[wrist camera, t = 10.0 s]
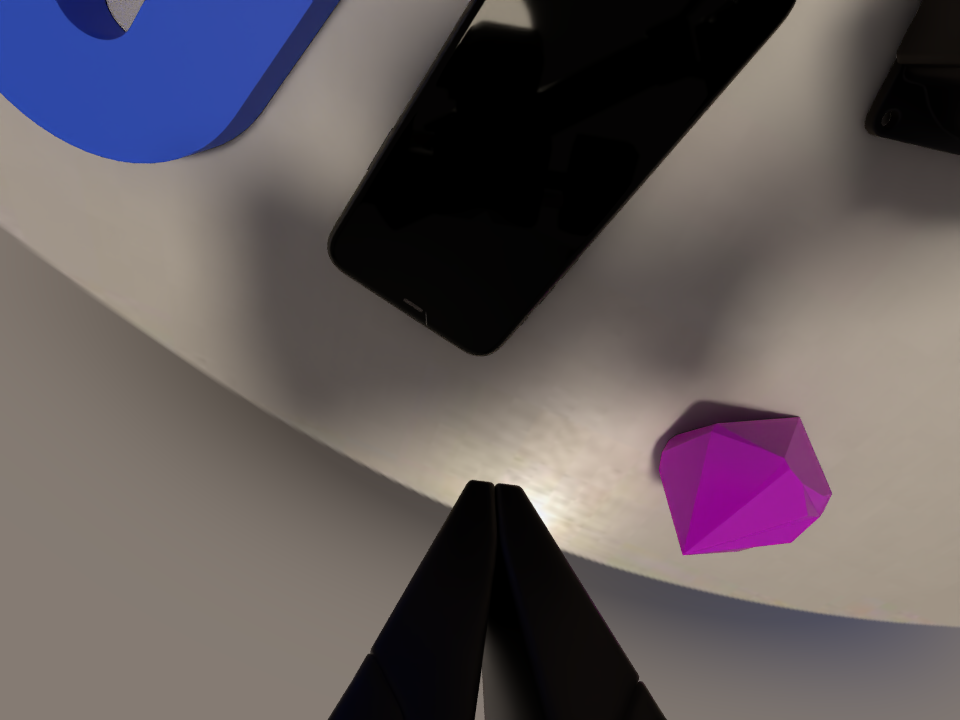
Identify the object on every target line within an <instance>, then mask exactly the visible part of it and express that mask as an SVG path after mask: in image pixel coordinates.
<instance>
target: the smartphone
mask: <svg viewBox="0 0 960 720" xmlns="http://www.w3.org/2000/svg"><path fill="white" fill-rule="evenodd" d="M795 2H796V0H471V1H470V2H469V4H468V6H467V7H466V9H465V11H464V12H463V14H462V16H461V17H460V19H459V21H458V22H457V24H456V25H455V27H454V29H453V30H452V32H451V34H450V35H449V37H448V39H447V40H446V42H445V44H444V45H443V47H442V49H441V50H440V52H439V54H438V55H437V57H436V59H435V60H434V62H433V64H432V65H431V67H430V68H429V70H428V72H427V73H426V75H425V77H424V78H423V80H422V82H421V83H420V85H419V87H418V88H417V90H416V92H415V93H414V95H413V97H412V98H411V100H410V102H409V103H408V105H407V106H406V108H405V110H404V111H403V113H402V115H401V116H400V118H399V120H398V121H397V123H396V125H395V126H394V128H392V129H391V131H390V132H389V134H388V136H387V137H386V139H385V141H384V142H383V144H382V146H381V147H380V149H379V151H378V152H377V154H376V156H375V157H374V159H373V161H372V162H371V164H370V166H369V167H368V169H367V170H368V171H367V173H366V174H365V176H364V178H363V179H362V181H361V182H360V184H359V186H358V187H357V189H356V191H355V192H354V194H353V196H352V197H351V199H350V201H349V202H348V204H347V206H346V207H345V209H344V211H343V212H342V214H341V216H340V217H339V219H338V220H337V222H336V224H335V225H334V227H333V229H332V231H331V233H330V236H329V239H328V244H327V249H328V254H329V257H330V259H331V261H332V262H333V264H334V265H335V266H336V267H337V268H338V269H339V270H340V271H341V272H343V273H344V274H346V275H347V276H349V277H350V278H352V279H353V280H355V281H356V282H358V283H359V284H361V285H362V286H364V287H365V288H367V289H368V290H370V291H371V292H373V293H374V294H376V295H378V296H379V297H381V298H382V299H384V300H385V301H387V302H388V303H390V304H391V305H393V306H394V307H396V308H397V309H399V310H401V311H402V312H404V313H405V314H407V315H408V316H410V317H411V318H413V319H414V320H416V321H417V322H419V323H421V324H422V325H424V326H425V327H427V328H428V329H430V330H431V331H433V332H434V333H436V334H437V335H439V336H441V337H442V338H444V339H445V340H447V341H448V342H450V343H451V344H453V345H455V346H456V347H458V348H459V349H461V350H462V351H464V352H466V353H468V354H471V355H474V356H487V355H490V354H492V353H494V352H496V351H497V350H498V349H499V348H501V347H502V346H503V345H504V344H505V342H506V341H507V340H508V339H509V338H510V337H511V336H512V334H513V333H514V332H515V331H516V330H517V329H518V327H519V326H521V325H522V324H523V323H524V321H525V320H526V319H527V318H528V316H529V315H530V314H531V312H532V311H533V310H534V309H535V308H536V307H537V306H538V305H539V304H540V303H541V302H542V301H543V300H544V299H545V297H546V296H547V295H548V294H549V293H550V292H551V291H552V289H553V288H554V287H555V285H556V284H557V283H558V281H559V280H560V279H562V278H563V277H564V276H565V274H566V273H567V272H568V271H569V270H570V269H571V268H572V266H573V265H574V264H575V263H576V262H577V261H578V259H579V257H580V256H581V255H582V254H583V253H584V251H585V250H586V249H587V248H588V247H589V246H590V244H591V243H592V242H593V241H594V240H595V239H596V238H597V236H598V235H599V234H600V233H601V232H602V231H603V229H604V228H605V227H606V226H607V225H608V224H609V223H610V221H611V220H612V219H613V218H614V217H615V216H616V215H617V213H618V212H619V211H620V210H621V209H622V208H623V206H624V205H625V204H626V203H627V202H628V201H629V200H630V198H631V197H632V196H633V195H634V194H635V193H636V191H637V190H638V189H639V188H640V187H641V186H642V185H643V183H644V182H645V181H646V180H647V179H648V178H649V176H650V175H651V174H652V173H653V172H654V171H655V170H656V168H657V167H658V166H659V165H660V164H661V163H662V161H663V160H664V159H665V158H666V157H667V156H668V155H669V153H670V152H671V151H672V150H673V149H674V148H675V147H676V145H677V144H678V143H679V142H680V141H681V140H682V138H683V137H684V136H685V135H686V134H687V133H688V132H689V130H690V129H691V128H692V127H693V126H694V125H695V123H696V122H697V121H698V120H699V119H700V118H701V117H702V115H703V114H704V113H705V112H706V111H707V110H708V108H709V107H710V106H711V105H712V104H713V103H714V102H715V100H716V99H717V98H718V97H719V96H720V95H721V93H722V92H723V91H724V90H725V89H726V88H727V87H728V85H729V84H730V83H731V82H732V81H733V80H734V79H735V77H736V76H737V75H738V74H739V73H740V72H741V70H742V69H743V68H744V67H745V66H746V65H747V64H748V62H749V61H750V60H751V59H752V58H753V57H754V55H755V54H756V53H757V52H758V51H759V50H760V49H761V47H762V46H763V45H764V44H765V43H766V42H767V40H768V39H769V38H770V37H771V36H772V35H773V34H774V32H775V31H776V30H777V29H778V28H779V27H780V25H781V24H782V23H783V22H784V20H785V19H786V18H787V16H788V15H789V13H790V12H791V10H792V8H793V6H794V4H795Z"/></svg>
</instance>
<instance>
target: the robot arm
mask: <svg viewBox="0 0 960 720" xmlns="http://www.w3.org/2000/svg"><path fill="white" fill-rule="evenodd" d="M889 111H890V113H891V117H890V120H889V121H888V123H887V124H886V125H884V126H882V124H881V122H882V118H883V117H884V115H885V114H886V113H887V112H889ZM865 129H866V130H867V132H868V133H869V134H871V135H874V136H878V137H882V138H887V139H891V140H895V141H900V142H904V143H909V144H913V145H917V146H922V147H926V148H930V149H935V150H939V151H944V152H948V153H952V154H957V155H960V0H923V1H922V3H921V5H920V7H919V9H918V11H917V13H916V15H915V17H914V19H913V21H912V22H911V24H910V26H909V28H908V30H907V32H906V34H905V36H904V38H903V40H902V42H901V44H900V46H899V48H898V50H897V58H896V60H895V62H894V63H893V65H892V67H891V69H890V71H889V73H888V75H887V77H886V79H885V81H884V83H883V85H882V87H881V89H880V91H879V93H878V95H877V96H876V98H875V100H874V102H873V104H872V106H871V108H870V110H869V112H868V114H867V117H866V120H865ZM481 669H482V675H483V676H482V678H483V696H484V713H485V720H667V719H666V718H665V716H664V715H663V713H662V712H661V710H660V709H659V707H658V705H657V704H656V702H655V701H654V699H653V697H652V696H651V694H650V693H649V691H648V689H647V688H646V686H645V684H644V683H643V682H641V681H639V682H638V680H639V675H638V673H637V672H636V670H635V669H634V667H633V665H632V664H631V662H630V661H629V659H628V657H627V656H626V654H625V653H624V651H623V650H622V648H621V646H620V645H619V643H618V641H617V640H616V638H615V637H614V635H613V633H612V632H611V630H610V629H609V627H608V625H607V624H606V622H605V621H604V619H603V617H602V616H601V614H600V613H599V611H598V610H597V608H596V606H595V605H594V603H593V601H592V600H591V598H590V597H589V595H588V593H587V592H586V590H585V589H584V587H583V585H582V584H581V582H580V580H579V579H578V577H577V576H576V574H575V572H574V571H573V569H572V568H571V566H570V565H569V563H568V561H567V560H566V558H565V556H564V555H563V553H562V552H561V550H560V548H559V547H558V545H557V544H556V542H555V540H554V539H553V537H552V535H551V534H550V532H549V531H548V529H547V527H546V526H545V524H544V523H543V521H542V519H541V518H540V516H539V515H538V513H537V511H536V510H535V508H534V507H533V505H532V503H531V502H530V500H529V499H528V497H527V495H526V494H525V492H524V491H523V489H522V488H521V487H520V486H517V485H509V484H501V483H498V484H496V485H495V487H494V484H493V483H491V482H485V481H477V480H471V481H469V482H468V483H467V484H466V486H465V488H464V490H463V491H462V493H461V495H460V497H459V498H458V500H457V502H456V503H455V505H454V507H453V509H452V510H451V512H450V514H449V516H448V517H447V519H446V521H445V523H444V524H443V526H442V528H441V530H440V531H439V533H438V534H437V536H436V538H435V540H434V541H433V543H432V545H431V546H430V548H429V550H428V552H427V554H426V555H425V557H424V559H423V560H422V562H421V564H420V565H419V567H418V569H417V571H416V572H415V574H414V576H413V577H412V579H411V581H410V583H409V584H408V586H407V588H406V590H405V591H404V593H403V595H402V597H401V598H400V600H399V602H398V603H397V605H396V607H395V609H394V610H393V612H392V614H391V615H390V617H389V619H388V621H387V622H386V624H385V626H384V628H383V629H382V631H381V633H380V634H379V636H378V638H377V640H376V641H375V643H374V645H373V646H372V648H371V653H370V654H368V655H367V656H366V658H365V659H364V661H363V663H362V665H361V666H360V668H359V670H358V671H357V673H356V675H355V677H354V678H353V680H352V682H351V684H350V685H349V686H348V688H347V690H346V691H345V693H344V694H343V696H342V698H341V699H340V701H339V703H338V704H337V706H336V708H335V709H334V710H333V712H332V714H331V715H330V717H329V718H328V720H475V712H476V705H477V698H478V691H479V683H480V676H481Z"/></svg>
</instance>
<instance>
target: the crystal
mask: <svg viewBox="0 0 960 720" xmlns="http://www.w3.org/2000/svg"><path fill="white" fill-rule="evenodd" d="M659 473H660V476H661V480H662V483H663V487H664V491H665V494H666V498H667V501H668V505H669V508H670V512H671V515H672V519H673V522H674V526H675V529H676V533H677V537H678V540H679V544H680V547H681V551H682V554H683V555H693V554H708V553H723V552H737V551H742V550H745V549H749V548H753V547H758V546H767V545H775V544H784V543H791V542H792V541H794V540H795V539H796V538H797V537H798V536H799V535H800V534H801V533H802V532H803V531H805V530H806V529H807V528H808V527H809V526H810V525H811V524H812V523H813V522H814V521H816V520H817V519H818V518H819V517H820V516H821V514H822V513H823V511H824V509H825V507H826V505H827V503H828V501H829V499H830V497H831V495H832V492H831V490H830V487H829V485H828V483H827V480H826V478H825V475H824V473H823V471H822V468H821V466H820V464H819V461H818V459H817V457H816V454H815V452H814V450H813V447H812V445H811V442H810V440H809V438H808V435H807V433H806V431H805V428H804V426H803V424H802V421H801V419H800V417H792V418H779V419H766V420H753V421H740V422H727V423H716V424H713V425H709V426H706V427H702V428H699V429H695V430H692V431H688V432H685V433H681V434H678V435H675V436H674V437H673V438H671V439H670V440H669V441H668V442H667V444H666V446H665V448H664V450H663V451H662V455H661V460H660V466H659Z"/></svg>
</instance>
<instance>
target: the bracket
mask: <svg viewBox="0 0 960 720" xmlns="http://www.w3.org/2000/svg"><path fill="white" fill-rule="evenodd" d="M339 1H340V0H145V1H144V3H143V5H142V7H141V8H140V10H139V12H138V14H137V16H136V18H135V19H134V21H133V23H132V25H131V27H130V28H129V30H128V31H127V32H125V31H124V30H123V29H122V28H121V27H120V26H119V25H118V24H117V23H116V22H115V20H114V19H113V17H112V16H111V14H110V12H109V10H108V8H107V6H106V3H105V0H0V93H1V94H2V95H3V96H4V97H5V98H6V99H7V100H8V101H10V102H11V103H12V104H13V105H14V106H15V107H16V108H17V109H19V110H20V111H21V112H22V113H23V114H25V115H26V116H27V117H28V118H30V119H31V120H32V121H34V122H35V123H36V124H37V125H39V126H40V127H42V128H44V129H45V130H47V131H48V132H50V133H51V134H53V135H54V136H56V137H58V138H60V139H61V140H63V141H65V142H67V143H69V144H71V145H73V146H75V147H77V148H80V149H82V150H84V151H86V152H89V153H92V154H95V155H98V156H101V157H104V158H108V159H112V160H117V161H123V162H130V163H159V162H166V161H171V160H175V159H179V158H182V157H185V156H189V155H192V154H195V153H198V152H202V151H205V150H208V149H211V148H214V147H217V146H219V145H222V144H224V143H226V142H228V141H230V140H232V139H234V138H235V137H236V136H238V135H239V134H241V133H242V132H243V131H245V130H246V129H247V128H248V127H249V126H250V125H251V124H252V123H253V122H254V121H255V119H256V118H257V117H258V116H259V115H260V113H261V112H262V111H263V109H264V108H265V106H266V105H267V104H268V102H269V101H270V99H271V98H272V96H273V95H274V94H275V92H276V91H277V89H278V88H279V86H280V85H281V84H282V82H283V81H284V79H285V78H286V76H287V75H288V74H289V72H290V71H291V69H292V68H293V66H294V65H295V64H296V62H297V61H298V59H299V58H300V57H301V55H302V54H303V52H304V51H305V49H306V48H307V47H308V45H309V44H310V42H311V41H312V39H313V38H314V37H315V35H316V34H317V32H318V31H319V29H320V28H321V27H322V25H323V24H324V22H325V21H326V19H327V18H328V17H329V15H330V14H331V12H332V11H333V9H334V8H335V7H336V5H337V4H338V2H339Z"/></svg>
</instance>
